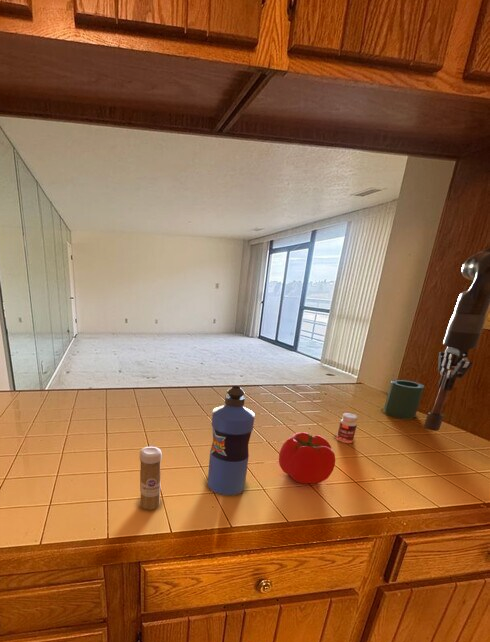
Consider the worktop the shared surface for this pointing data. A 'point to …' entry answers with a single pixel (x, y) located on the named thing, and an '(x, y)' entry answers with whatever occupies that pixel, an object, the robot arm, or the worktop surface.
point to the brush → (437, 409)
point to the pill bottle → (347, 428)
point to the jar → (403, 399)
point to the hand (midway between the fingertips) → (444, 388)
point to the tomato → (307, 458)
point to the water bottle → (230, 444)
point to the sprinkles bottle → (150, 477)
